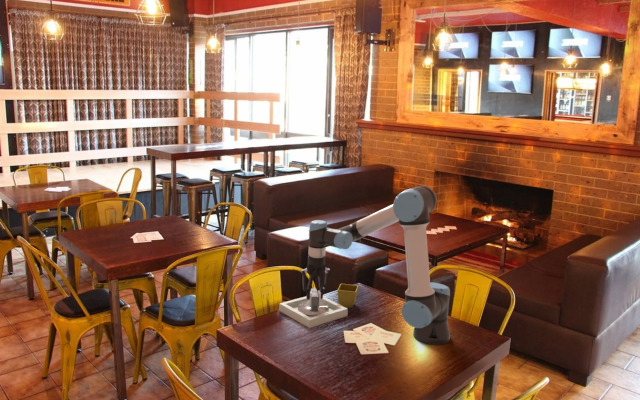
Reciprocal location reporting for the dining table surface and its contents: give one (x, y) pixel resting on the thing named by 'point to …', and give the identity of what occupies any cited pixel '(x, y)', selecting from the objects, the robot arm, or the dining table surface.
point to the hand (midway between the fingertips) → (314, 305)
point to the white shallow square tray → (309, 321)
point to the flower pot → (347, 295)
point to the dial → (313, 306)
